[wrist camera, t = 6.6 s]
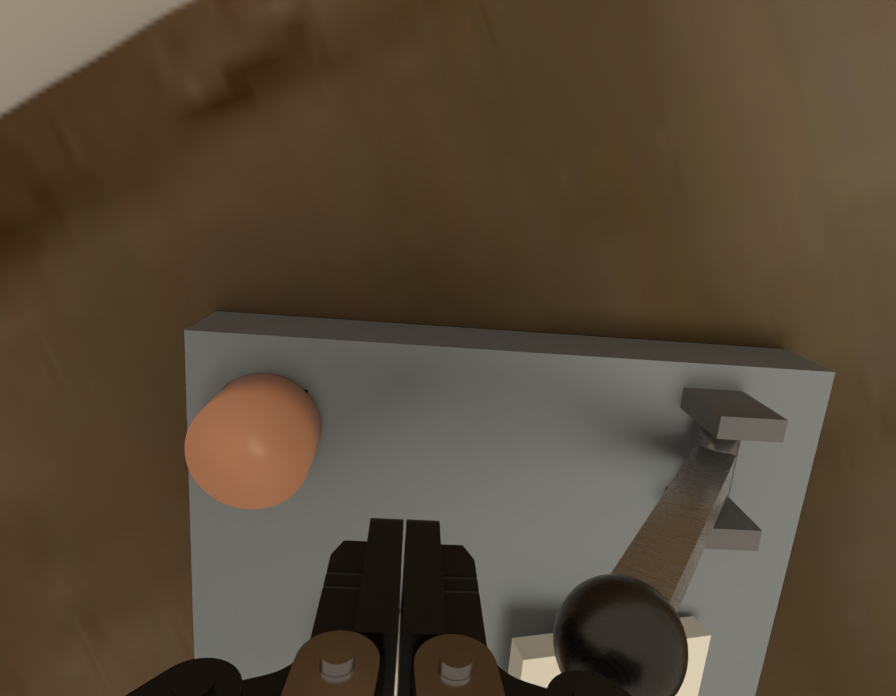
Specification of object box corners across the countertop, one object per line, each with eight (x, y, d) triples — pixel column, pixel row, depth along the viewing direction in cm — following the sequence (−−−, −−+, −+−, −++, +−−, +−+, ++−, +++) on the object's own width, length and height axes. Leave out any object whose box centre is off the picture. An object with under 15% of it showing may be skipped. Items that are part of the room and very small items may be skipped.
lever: (674, 478, 21) (524, 706, 11) (686, 413, 21) (539, 593, 11) (750, 500, 20) (657, 779, 10) (765, 432, 19) (683, 656, 9)
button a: (227, 450, 22) (186, 506, 18) (226, 353, 21) (182, 390, 17) (328, 455, 22) (309, 512, 18) (332, 359, 21) (312, 398, 17)
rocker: (502, 716, 21) (512, 741, 20) (512, 638, 20) (523, 660, 19) (677, 688, 23) (694, 710, 22) (693, 615, 22) (711, 635, 21)
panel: (221, 643, 25) (167, 767, 20) (215, 311, 22) (148, 352, 16) (713, 659, 27) (788, 780, 21) (783, 348, 23) (894, 398, 18)
